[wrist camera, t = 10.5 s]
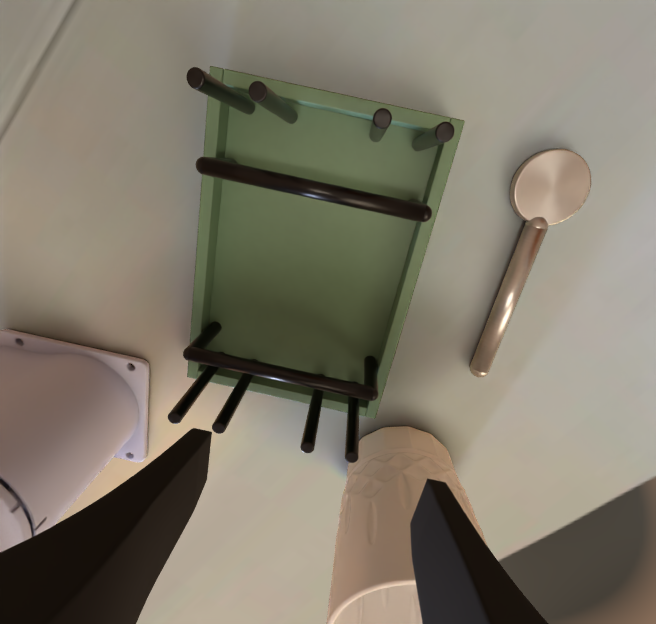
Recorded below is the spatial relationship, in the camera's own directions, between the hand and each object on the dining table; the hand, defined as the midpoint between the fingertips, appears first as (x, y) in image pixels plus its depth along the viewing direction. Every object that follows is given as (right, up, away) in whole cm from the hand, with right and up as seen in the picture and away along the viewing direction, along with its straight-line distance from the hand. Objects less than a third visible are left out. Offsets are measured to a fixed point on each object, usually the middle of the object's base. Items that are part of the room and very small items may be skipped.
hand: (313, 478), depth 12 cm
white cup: (+5, -5, +13) cm, 14 cm away
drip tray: (-1, +8, +8) cm, 12 cm away
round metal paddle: (+10, +8, +7) cm, 15 cm away
